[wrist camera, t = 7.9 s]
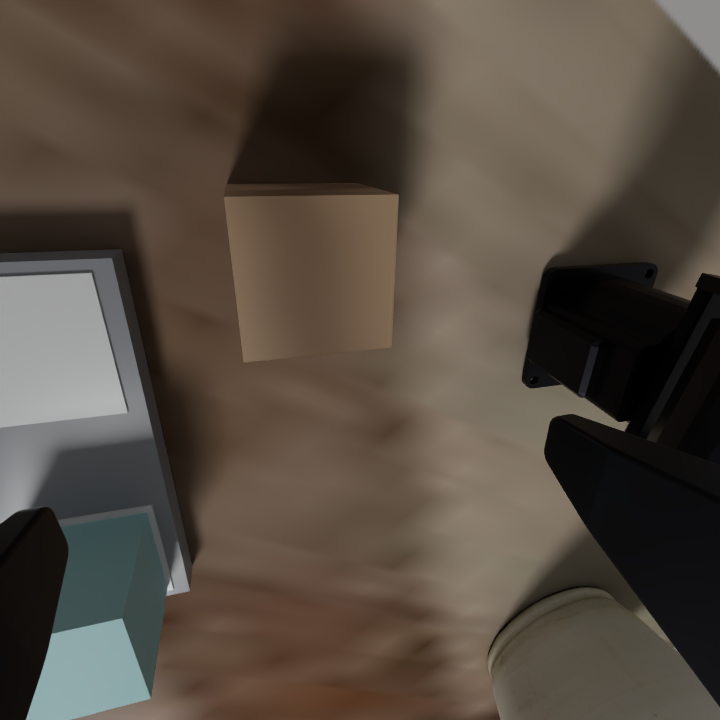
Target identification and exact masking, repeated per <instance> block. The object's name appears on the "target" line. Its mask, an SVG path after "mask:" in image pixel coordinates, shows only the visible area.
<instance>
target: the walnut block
mask: <svg viewBox="0 0 720 720" xmlns="http://www.w3.org/2000/svg"><path fill="white" fill-rule="evenodd" d="M398 201H399V194H395V193H392V192H388V191H384V190H381V189H377V188H374V187H370V186H367V185H363V184H360V183H265V184H227V185H226V190H225V194H224V202H225V210H226V218H227V227H228V235H229V244H230V252H231V260H232V269H233V277H234V285H235V294H236V302H237V311H238V319H239V327H240V336H241V344H242V353H243V361H244V362H252V361H262V360H272V359H283V358H293V357H303V356H313V355H323V354H333V353H343V352H353V351H363V350H373V349H383V348H392V327H393V306H394V285H395V264H396V243H397V222H398Z"/></svg>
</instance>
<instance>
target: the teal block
mask: <svg viewBox="0 0 720 720" xmlns="http://www.w3.org/2000/svg"><path fill="white" fill-rule="evenodd" d="M61 529H62V531H63V533H64V535H65V537H66V540H67V542H68V548H69V554H68V560H67V565H66V570H65V574H64V579H63V584H62V588H61V593H60V598H59V602H58V607H57V611H56V616H55V621H54V625H53V630H52V635H51V639H50V643H49V647H48V652H47V656H46V659H45V662H44V666H43V669H42V672H41V676H40V679H39V682H38V685H37V688H36V691H35V694H34V697H33V700H32V703H31V706H30V709H29V712H28V715H27V718H26V720H71V719H75V718H79V717H82V716H86V715H90V714H94V713H98V712H101V711H105V710H109V709H113V708H117V707H120V706H124V705H128V704H132V703H136V702H140V701H143V700H147V699H151V694H152V688H153V681H154V674H155V668H156V661H157V654H158V648H159V641H160V634H161V628H162V621H163V614H164V608H165V601H166V594H167V588H168V587H167V583H166V580H165V576H164V572H163V569H162V565H161V561H160V558H159V554H158V550H157V547H156V543H155V539H154V536H153V532H152V528H151V525H150V521H149V517H148V514H147V512H146V513H140V514H135V515H129V516H123V517H117V518H111V519H105V520H99V521H93V522H87V523H81V524H75V525H69V526H63V527H61Z"/></svg>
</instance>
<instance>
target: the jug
mask: <svg viewBox="0 0 720 720" xmlns="http://www.w3.org/2000/svg"><path fill="white" fill-rule="evenodd" d="M488 670H489V673H490V676H491V682H492V688H493V693H494V697H495V701H496V705H497V708H498V712H499V716H500V719H501V720H720V707H719V706H718V705H717V703H716V702H715V700H714V699H713V698H712V696H711V695H710V694H709V692H708V691H707V690H706V688H705V687H704V686H703V684H702V683H701V682H700V680H699V679H698V678H697V676H696V675H695V673H694V672H693V671H692V669H691V668H690V667H689V665H688V664H687V663H686V661H685V660H684V659H683V657H682V656H681V655H680V654H679V653H678V652H677V651H676V650H675V649H674V648H672V647H671V646H670V645H669V644H668V643H667V642H665V641H664V640H663V639H662V638H661V637H660V636H659V635H657V634H656V633H655V632H654V631H653V630H652V629H651V628H650V627H649V626H648V625H646V624H645V623H644V622H643V621H642V620H641V619H640V618H638V617H637V616H636V615H635V614H634V613H632V612H631V611H629V610H628V609H626V608H625V607H624V606H622V605H621V604H619V603H618V602H616V601H615V599H614V598H613V597H612V596H611V595H610V594H609V593H607V592H606V591H604V590H601V589H597V588H591V587H583V588H575V589H571V590H566V591H563V592H560V593H557V594H554V595H551V596H549V597H547V598H544V599H542V600H540V601H538V602H536V603H534V604H533V605H531V606H530V607H529V608H527V609H526V610H524V611H523V612H521V613H520V614H519V615H518V616H517V617H515V618H514V619H513V620H512V621H511V622H510V623H509V624H508V625H507V627H506V628H505V629H504V630H502V632H501V633H499V635H498V636H497V638H496V639H495V641H494V643H493V645H492V648H491V650H490V652H489V655H488Z"/></svg>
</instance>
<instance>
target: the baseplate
mask: <svg viewBox="0 0 720 720" xmlns="http://www.w3.org/2000/svg"><path fill="white" fill-rule="evenodd" d="M41 506H47V507H50V508H51V509H52V510H53V512H54V513H55V515H56V518H57V520H58V522H59V524H60V526H61V527H63V526H69V525H75V524H81V523H87V522H93V521H99V520H105V519H111V518H117V517H123V516H129V515H135V514H140V513H146V512H147V514H148V517H149V521H150V525H151V528H152V532H153V536H154V539H155V543H156V547H157V550H158V554H159V558H160V561H161V565H162V569H163V572H164V576H165V580H166V583H167V587H168V588H167V594H166V596H169V595H173V594H178V593H183V592H188V591H190V585H191V575H192V562H191V558H190V553H189V549H188V544H187V540H186V535H185V531H184V526H183V522H182V517H181V513H180V508H179V504H178V500H177V495H176V491H175V486H174V482H173V477H172V473H171V468H170V464H169V459H168V455H167V450H166V446H165V441H164V437H163V432H162V428H161V423H160V419H159V414H158V410H157V405H156V401H155V396H154V392H153V387H152V383H151V378H150V374H149V369H148V365H147V360H146V356H145V351H144V347H143V342H142V338H141V333H140V329H139V324H138V320H137V315H136V311H135V306H134V302H133V297H132V293H131V288H130V284H129V279H128V275H127V271H126V266H125V262H124V257H123V253H122V249H111V250H81V251H51V252H21V253H0V524H1V523H2V522H3V521H5V520H6V519H7V518H9V517H10V516H11V515H13V514H14V513H15V512H17V511H20V510H24V509H29V508H35V507H41Z"/></svg>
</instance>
